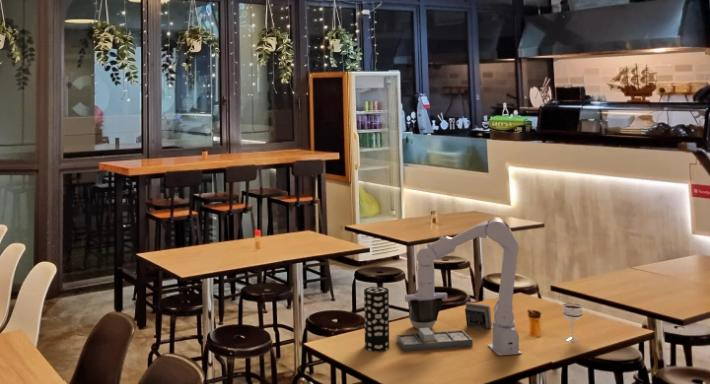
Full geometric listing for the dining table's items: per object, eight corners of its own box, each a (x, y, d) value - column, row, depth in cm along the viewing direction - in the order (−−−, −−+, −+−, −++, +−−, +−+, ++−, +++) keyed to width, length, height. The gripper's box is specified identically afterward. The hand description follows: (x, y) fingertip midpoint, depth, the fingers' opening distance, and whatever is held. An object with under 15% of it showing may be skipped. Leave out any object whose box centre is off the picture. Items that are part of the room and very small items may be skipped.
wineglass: (572, 334, 220) (573, 302, 219) (586, 341, 214) (587, 307, 212) (557, 337, 217) (558, 304, 216) (570, 343, 211) (571, 309, 210)
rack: (472, 346, 210) (472, 339, 210) (404, 351, 206) (404, 344, 206) (462, 336, 220) (462, 329, 220) (397, 341, 216) (396, 334, 216)
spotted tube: (374, 341, 217) (373, 285, 214) (394, 346, 211) (393, 289, 209) (359, 348, 210) (359, 290, 208) (379, 353, 205) (378, 294, 203)
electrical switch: (492, 327, 229) (491, 303, 228) (487, 332, 225) (486, 308, 223) (468, 323, 235) (467, 300, 233) (463, 328, 230) (462, 305, 229)
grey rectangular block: (434, 345, 209) (434, 334, 209) (424, 346, 209) (424, 334, 208) (428, 338, 216) (428, 327, 216) (418, 339, 216) (418, 328, 215)
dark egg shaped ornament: (423, 334, 223) (423, 293, 221) (403, 327, 231) (403, 287, 229) (443, 328, 229) (443, 288, 228) (422, 321, 237) (422, 282, 236)
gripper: (442, 277, 216) (442, 315, 217) (402, 280, 213) (402, 318, 215) (449, 282, 209) (449, 321, 210) (407, 285, 206) (407, 324, 208)
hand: (426, 320), depth 212 cm, fingers open, 6 cm apart
